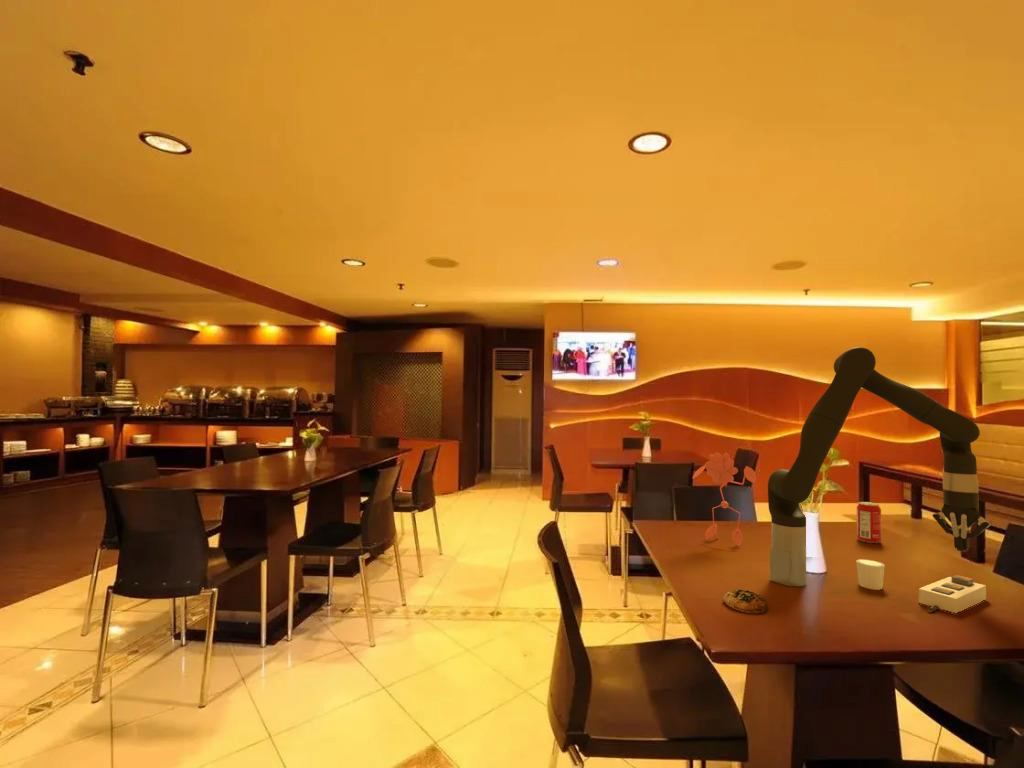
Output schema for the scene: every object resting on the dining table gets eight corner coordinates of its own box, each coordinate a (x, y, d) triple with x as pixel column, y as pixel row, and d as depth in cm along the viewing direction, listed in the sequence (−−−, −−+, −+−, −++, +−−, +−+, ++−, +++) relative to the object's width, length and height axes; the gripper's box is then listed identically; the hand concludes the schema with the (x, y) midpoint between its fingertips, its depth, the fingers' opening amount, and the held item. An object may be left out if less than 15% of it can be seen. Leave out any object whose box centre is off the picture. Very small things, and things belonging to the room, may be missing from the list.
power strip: (948, 618, 127) (948, 602, 127) (911, 606, 134) (911, 591, 134) (986, 600, 139) (985, 585, 140) (949, 590, 146) (949, 576, 146)
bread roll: (778, 609, 131) (775, 590, 131) (751, 623, 125) (748, 603, 125) (740, 596, 140) (738, 578, 140) (714, 609, 135) (711, 590, 135)
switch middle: (958, 598, 135) (958, 589, 135) (941, 593, 138) (941, 584, 139) (963, 595, 137) (963, 586, 137) (947, 591, 140) (947, 582, 140)
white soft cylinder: (878, 583, 151) (878, 560, 151) (889, 591, 145) (889, 567, 145) (852, 581, 153) (852, 557, 153) (861, 589, 146) (861, 564, 147)
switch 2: (968, 589, 139) (967, 581, 139) (951, 585, 142) (951, 577, 142) (973, 587, 140) (973, 578, 141) (956, 583, 144) (956, 574, 144)
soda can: (859, 542, 196) (859, 504, 197) (854, 538, 203) (854, 500, 204) (884, 545, 193) (883, 506, 194) (878, 540, 200) (877, 502, 201)
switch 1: (948, 602, 132) (948, 593, 132) (931, 598, 135) (931, 589, 135) (954, 600, 134) (953, 591, 134) (937, 595, 137) (937, 586, 137)
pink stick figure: (699, 533, 206) (698, 448, 206) (763, 548, 186) (763, 454, 187) (678, 540, 196) (677, 450, 197) (744, 557, 176) (743, 457, 177)
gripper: (926, 486, 146) (927, 546, 145) (986, 493, 135) (987, 559, 134) (937, 484, 150) (938, 543, 149) (996, 491, 138) (998, 555, 138)
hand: (961, 550), depth 142 cm, fingers closed
